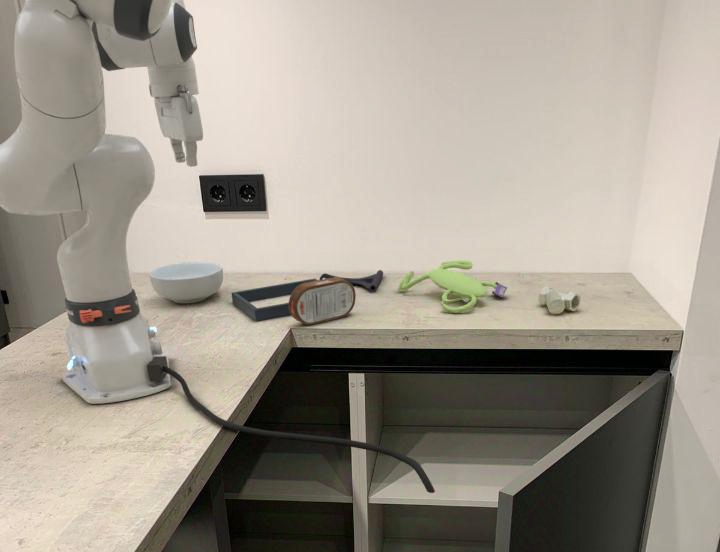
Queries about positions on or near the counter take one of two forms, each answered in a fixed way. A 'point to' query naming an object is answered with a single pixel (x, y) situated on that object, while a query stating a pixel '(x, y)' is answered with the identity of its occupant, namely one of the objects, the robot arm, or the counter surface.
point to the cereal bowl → (187, 281)
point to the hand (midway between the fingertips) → (186, 164)
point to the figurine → (455, 284)
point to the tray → (268, 312)
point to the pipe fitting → (559, 300)
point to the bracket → (361, 280)
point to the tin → (322, 300)
